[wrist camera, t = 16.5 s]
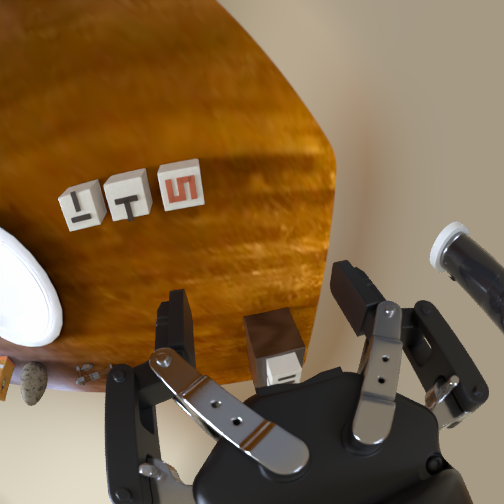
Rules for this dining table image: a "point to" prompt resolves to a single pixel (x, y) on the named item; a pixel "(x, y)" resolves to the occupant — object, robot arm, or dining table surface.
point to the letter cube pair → (118, 196)
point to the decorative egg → (33, 382)
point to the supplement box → (5, 375)
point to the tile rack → (271, 341)
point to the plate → (26, 296)
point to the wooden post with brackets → (91, 376)
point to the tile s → (181, 184)
